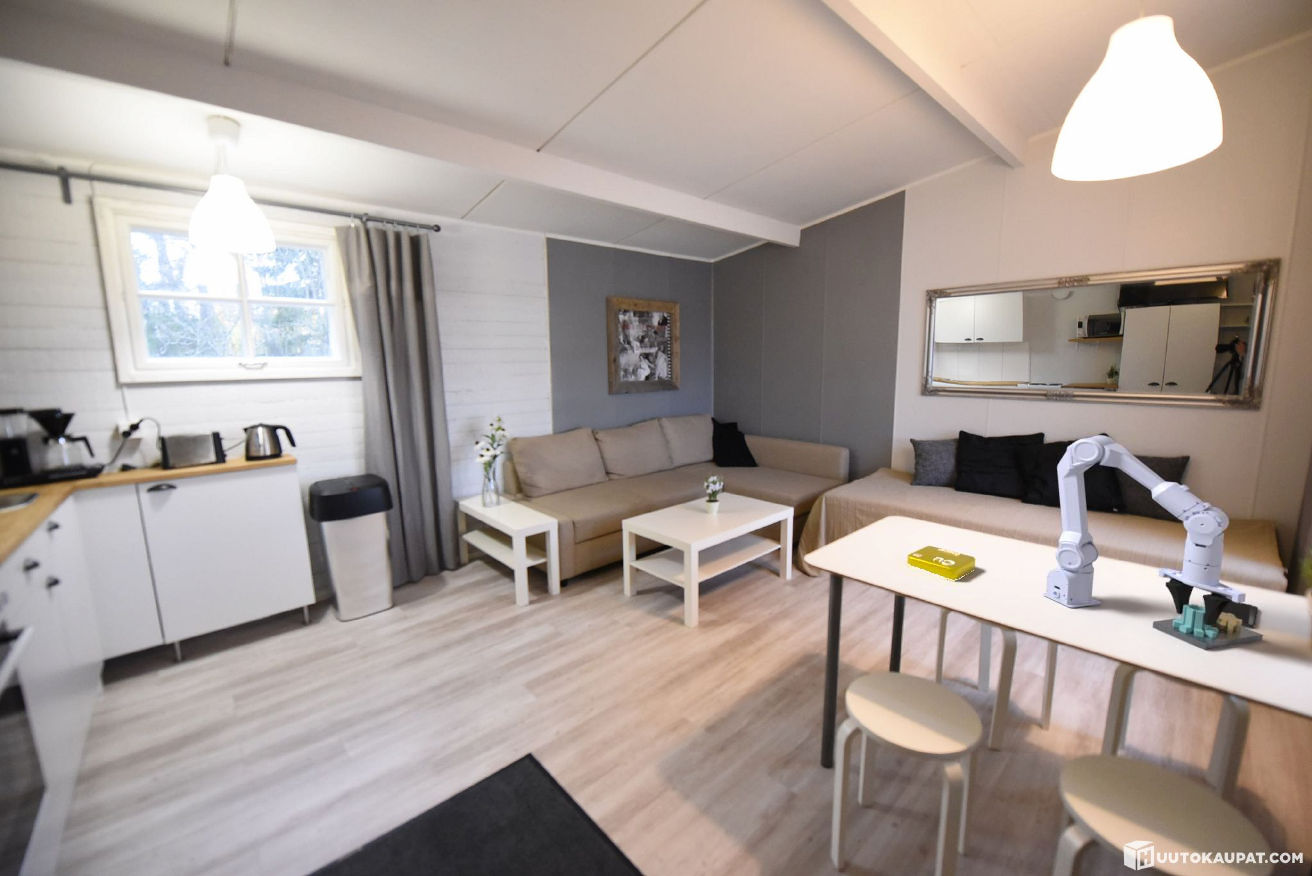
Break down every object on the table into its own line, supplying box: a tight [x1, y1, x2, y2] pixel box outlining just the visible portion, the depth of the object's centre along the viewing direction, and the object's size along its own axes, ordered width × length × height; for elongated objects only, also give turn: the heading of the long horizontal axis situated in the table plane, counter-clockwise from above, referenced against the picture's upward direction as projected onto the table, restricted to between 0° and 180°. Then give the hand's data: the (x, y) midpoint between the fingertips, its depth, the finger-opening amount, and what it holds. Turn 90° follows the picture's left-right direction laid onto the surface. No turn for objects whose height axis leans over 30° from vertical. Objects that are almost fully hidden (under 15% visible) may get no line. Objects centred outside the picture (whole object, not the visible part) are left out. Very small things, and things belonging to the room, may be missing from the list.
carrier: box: [1152, 612, 1264, 651], centre depth 115 cm, size 16×10×5 cm, turn 100°
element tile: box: [906, 545, 976, 580], centre depth 157 cm, size 15×15×5 cm
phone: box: [1223, 601, 1259, 630], centre depth 124 cm, size 8×1×15 cm
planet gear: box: [1173, 603, 1219, 638], centre depth 114 cm, size 7×7×5 cm
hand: (1195, 618), depth 114 cm, fingers open, 5 cm apart
